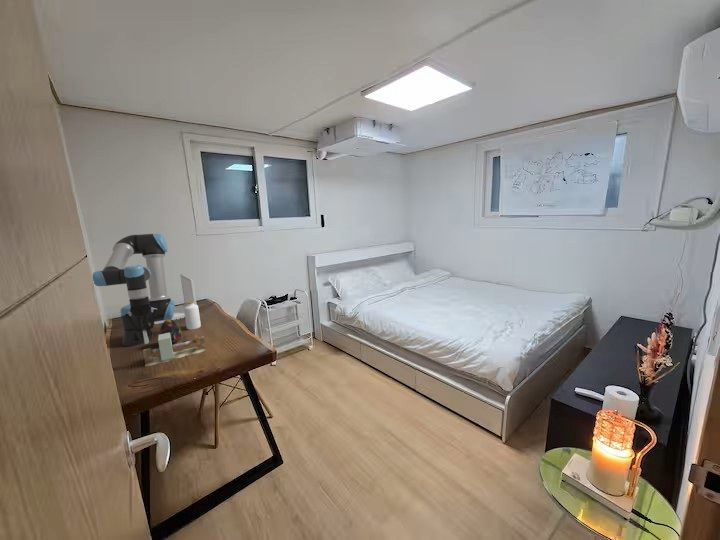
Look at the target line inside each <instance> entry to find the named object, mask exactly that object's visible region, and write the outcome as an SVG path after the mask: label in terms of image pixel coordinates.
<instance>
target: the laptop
mask: <svg viewBox="0 0 720 540" xmlns="http://www.w3.org/2000/svg"><path fill="white" fill-rule="evenodd" d="M179 276H180V281H181V289H182V293H183V301H184V304H179V305H175V310H174V316H173V318H172V320H174V321H176V319H177V320H180V318H181V319H185V318H184V317H185V314H184V307H185V306H187V302H190V301H194V304H195V305H198V304H197V297H196V291H195V284H194V279H192V278H190V277H188V276H186V275H184V274H182V273H180V275H179ZM163 322H164V320H163V321H157V322H154V325H159V324H163Z"/></svg>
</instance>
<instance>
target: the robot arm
mask: <svg viewBox="0 0 720 540" xmlns="http://www.w3.org/2000/svg"><path fill="white" fill-rule="evenodd" d="M168 251H169V250H168V245H167V241H166V238H165V236H163V234H162V233H146V234H145V233H144V234H143V233H142V234H141V233H140V234H131V235H127V236H125V237H123V238H121V239H119V240H118V241H116V243H115V244H114V245H113V248H112V253H111V255H110V257H109V258H108V260H107V262H106V264H105V266H104V268H103V269H102V270H96V271H94V272H93V274H92V282H93V281H94V282H93V284H94V285H95V286H96V287H108V286H115V285H116V286H117V285H126V288H127V295H128V298H129V300H128V301H129V304H127V305H124V306H122V307H121V308H120V317H121V323H122V327H123V336H122V340H121V342H122V346H125V347H132V346H133V347H134V346H138V345H142V344H144V345H147V344H149V342H150V341H151V340H153V339H154V333H153V332H152V330H151V329H153V328H154V325H155V324H154V322H157V321H163V320H164V321H165V320H167V319H172V318H173V316H174V310H175V306H176V305H175V300H172V299H171V297H170V296H169V294H168V289H167V283H166V276H165V265H164V257H165V256H166V253H167V252H168ZM140 254H142V255H141V256H142V258H144V259H145V263H146V266H143V265H139V264H138V265H130V266H126V265H127V263H128V260H129V258H130V257H132V256H133V255H140ZM147 281H148V287H149V292H148V287H147ZM149 294H150V295H149ZM148 295H149V296H150V297H149V296H148ZM149 324H150V325H149Z"/></svg>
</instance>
